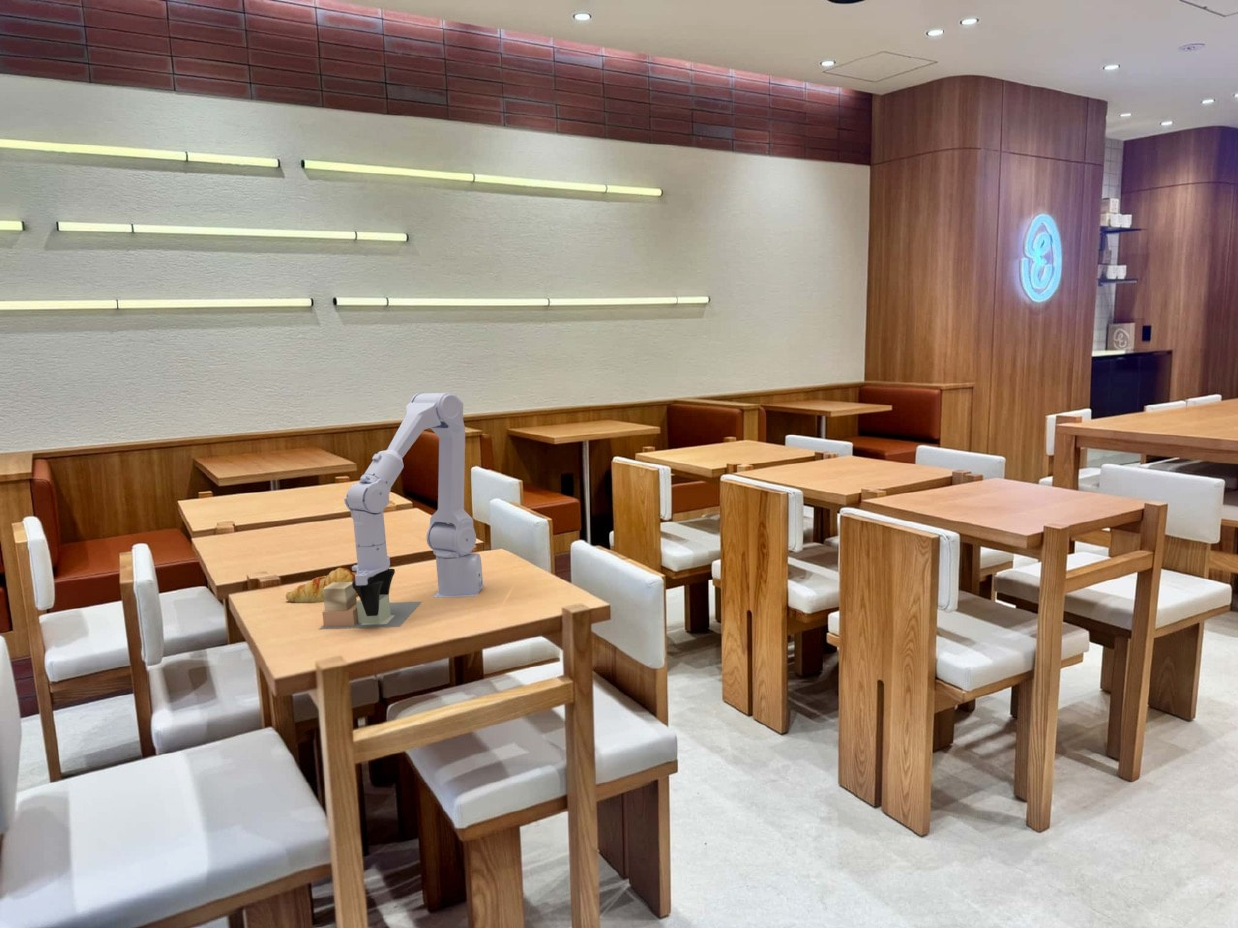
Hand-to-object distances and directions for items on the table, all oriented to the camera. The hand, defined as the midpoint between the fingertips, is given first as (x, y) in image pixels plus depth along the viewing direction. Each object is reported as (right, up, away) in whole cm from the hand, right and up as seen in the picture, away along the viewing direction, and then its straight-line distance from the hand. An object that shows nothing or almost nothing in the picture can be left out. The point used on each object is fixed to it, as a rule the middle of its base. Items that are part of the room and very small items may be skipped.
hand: (377, 610), depth 165 cm
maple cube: (-7, +1, 0) cm, 7 cm away
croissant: (-14, -1, +20) cm, 25 cm away
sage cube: (-1, -2, 0) cm, 2 cm away
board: (-2, -2, +4) cm, 5 cm away
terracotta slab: (-7, -2, +1) cm, 7 cm away
